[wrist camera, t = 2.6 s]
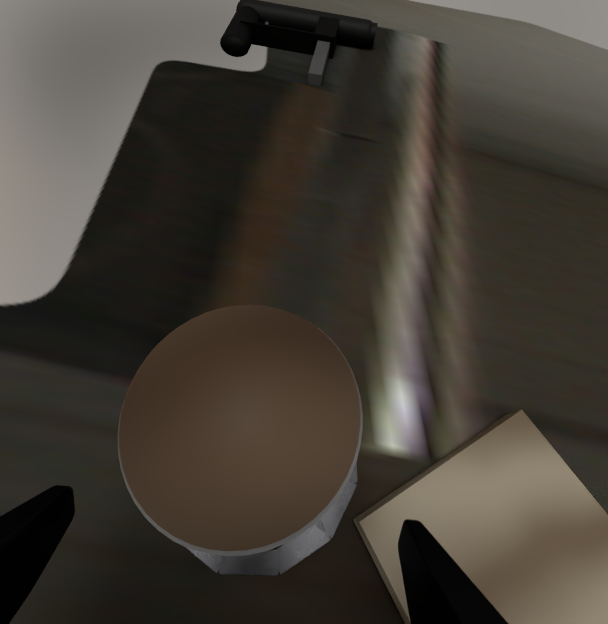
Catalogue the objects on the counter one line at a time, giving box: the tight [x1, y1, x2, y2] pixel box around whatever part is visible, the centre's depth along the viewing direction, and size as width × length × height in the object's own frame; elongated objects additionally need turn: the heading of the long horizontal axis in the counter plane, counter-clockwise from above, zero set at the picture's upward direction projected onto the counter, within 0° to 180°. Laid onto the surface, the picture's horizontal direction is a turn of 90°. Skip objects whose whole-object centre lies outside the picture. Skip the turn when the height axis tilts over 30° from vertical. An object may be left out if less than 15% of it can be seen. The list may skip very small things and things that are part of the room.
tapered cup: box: [118, 305, 363, 556], centre depth 12 cm, size 5×5×12 cm
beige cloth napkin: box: [353, 410, 608, 624], centre depth 16 cm, size 12×12×2 cm
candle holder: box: [186, 461, 357, 575], centre depth 16 cm, size 10×10×4 cm
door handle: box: [220, 0, 377, 86], centre depth 42 cm, size 3×20×16 cm
